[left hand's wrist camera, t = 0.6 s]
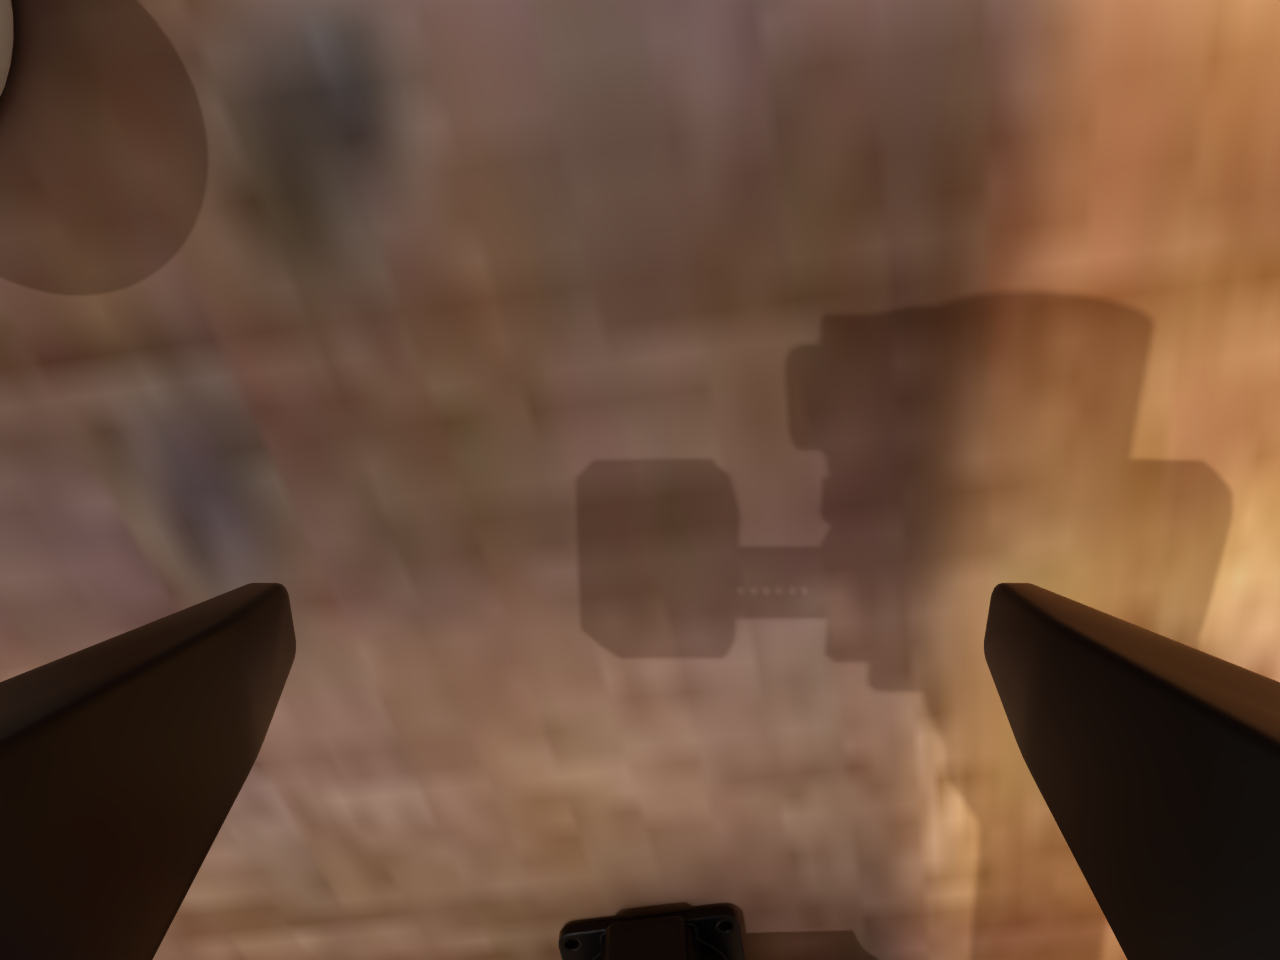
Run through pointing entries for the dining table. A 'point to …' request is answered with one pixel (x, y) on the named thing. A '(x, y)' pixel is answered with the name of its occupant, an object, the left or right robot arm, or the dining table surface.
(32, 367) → the dining table surface
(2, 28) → the mug
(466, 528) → the dining table surface
